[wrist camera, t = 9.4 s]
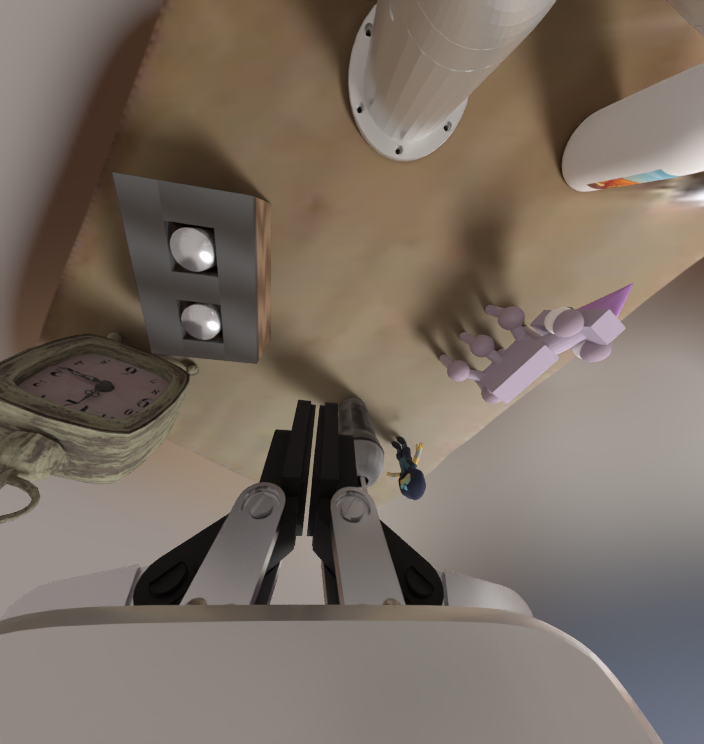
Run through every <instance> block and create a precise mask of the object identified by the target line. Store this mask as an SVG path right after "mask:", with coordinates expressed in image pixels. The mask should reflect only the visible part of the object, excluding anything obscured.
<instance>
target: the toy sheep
mask: <svg viewBox="0 0 704 744" xmlns="http://www.w3.org/2000/svg"><path fill="white" fill-rule="evenodd" d="M632 285H633V283H632V284H630V285H628V286H626V287H624V288H622V289H619V290H617V291H615V292H613V293H611V294H609V295H607V296H604V297H602V298H600V299H598V300H596V301H594V302H592V303H589V304H587V305H585V306H583V307H581V308H579V309H577V310H574V309H573V308H571V307H559V308H556V309H554V310H543V312H542V313H541V314H540V315H539V316H538V317H537V318H536V319H535V320H534V321H533V322H532V323H531V324H530V325H531V326H532V327H533V328H534V329H535V330H536V331H537V332H538V333H539V334H540V335H541V336H540V335H539V334H537V333H536V332H534V331H533V330H531V329H530V328H528V327H526V326H524V327H522V324H523V322H524V319H525V315H524V312H523V311H522V310H521V309H520V308H518V307H515V306H510V307H507V308H501V307H500V306H499V307H497V306H494V305H488V306H487V307H486V308H485V312H486V313H487V314H490V315H492V316H495V317H498V323H499V325H500V326H501V327H502V328H504V329H506V330H511V332H512V334H513V336H514V338H515V340H516V341H515V342H514V343H513V344H511V345H510V346H509V347H508V348H507V349H506V350H505V349H499V350H498V351H497V352H496V351H495V350H494V341H493V339H492V338H491V337H489V336H487V335H478V336H476V337H474V336H472V335H470V334H468V333H466V332H462V333H460V335H459V338H460V340H462V341H463V342H465V343H466V344H468V345H470V350H471V352H472V353H473V354H474V355H476V356H478V357H485V356H486V357H487V358H488V359H489V360H491V361H492V362H493V363H492V364H491V365H490V366H488V367H487V368H486V369H485V370H484V371H478V370H473V369H470V368H469V366H468V364H467V363H466V362H464V361H462V360H456V361H453V360H451V359H450V358H449V357H448V356H447V355H445V354H443V355H441V356H440V357H439V360H440V362H441V363H442V364H443V365H444V366H446V367H447V373H448V376H449V377H450V378H451V379H452V380H454V381H463V380H465V379H466V378H469V379H473V380H474V381H475V382H476V383H477V385H478V386H479V387H480V389H481V390H482V391H481V395H482V398H483V399H484V400H485V401H486V402H488V403H491V404H495V403H498V402H500V401H501V400H502V401H503V402H505V403H506V404H508V403H509V402H510V401H511V400H512V399H513V398H514V397H516V396H517V395H518V394H519V393H520V392H521V391H523V390H524V389H525V388H526V387H527V386H528V385H529V384H531V383H532V382H533V381H534V380H535V379H536V378H538V377H539V376H540V375H541V374H542V373H543V372H544V371H546V370H547V369H548V368H549V367H550V366H551V365H553V364H554V363H555V362H556V361H557V360H558V359H559V357H558V356H557V354H559V353H561V352H563V351H565V350H567V349H569V348H571V347H572V351H573V353H574V354H575V355H576V356H577V357H579V358H581V359H583V360H585V361H590V362H596V361H600V360H603V359H605V358H606V357H607V356H608V355H609V354H610V353H611V349H612V346H611V343H610V342H611V341H613V340H614V339H615V338H616V337H617V336H618V335H619V334H620V333H621V332H622V331H623V330H624V329H625V327H624V325H623V324H622V323H621V322H620V321H619V320H618V318H617V317H618V315H619V313H620V311H621V309H622V307H623V305H624V302H625V300H626V298H627V296H628V294H629V292H630V290H631V288H632Z"/></svg>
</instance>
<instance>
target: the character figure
mask: <svg viewBox="0 0 704 744" xmlns="http://www.w3.org/2000/svg"><path fill="white" fill-rule="evenodd" d="M397 441H398V442H399V443H400V444H402V449H401V446H400V444H398V443H397V442H393V443H392V446H393V447H394V448H396V449H397V454H396V457H397V459H398V460H399V464H400V467H401V473H390V472H387V473H388V474H387V476H389V477H391V478H399V487H400V490H401V493H402V494H403V495H404V496H406V497H408V498H409V499H413V500H417V499H419V498H421V497H422V495H423V494H424V491H425V488H426V483H425V479H424V475H423V473H422V472H421V471H420V470H418V469H416V467H417V463H418V460H419V458H420V455H421V451H422V449H423V443H422V444H421V443H419V447H418V445H417V444H416V453H415V456H414V459H413V461H412V457H411V452H410V448H409V447H407V445H406V441H405V440H404V439H403V438H401V437H398V438H397Z"/></svg>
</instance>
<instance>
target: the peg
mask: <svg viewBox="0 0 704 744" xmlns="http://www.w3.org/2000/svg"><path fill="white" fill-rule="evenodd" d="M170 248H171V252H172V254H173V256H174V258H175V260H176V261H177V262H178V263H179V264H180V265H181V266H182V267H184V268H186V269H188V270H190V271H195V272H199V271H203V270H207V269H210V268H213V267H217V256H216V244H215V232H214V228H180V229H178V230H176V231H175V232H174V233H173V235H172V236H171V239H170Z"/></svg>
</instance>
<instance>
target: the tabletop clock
mask: <svg viewBox="0 0 704 744" xmlns="http://www.w3.org/2000/svg"><path fill="white" fill-rule="evenodd" d="M121 341H122V337H121V335H120V334H118V333H114V332H113V333H110V334H108V335H107V338H106V337H102V336H97V335H92V334H83V335H75V336H70V337H66V338H62V339H58V340H55V341H52V342H48V343H45V344H42V345H39V346H36V347H33V348H30V349H27V350H25V351H23V352H21V353H19V354H16V355H14V356H12V357H10V358H8V359H5V360H3V361H1V362H0V489H1V488H2V487H3V486H5V485H6V484H9V485H12V486H16V487H18V488H20V489H22V490H23V491H25V492H27V493H28V494H29V496H30V497H31V499H32V501H31V503H30V504H29V505H28V506H27V507H25V508H24V509H22V510H20V511H17V512H14V513H11V514H7V515H2V516H0V524H2V523H5V522H9V521H12V520H15V519H17V518H19V517H21V516H23V515H25V514H27V513H28V512H30V511H31V510H33V509H34V508H35V507H36V505H37V504H38V502H39V499H40V494H39V491H38V488H37V487H36V486H34V485H33V484H32V483H30V482H29V481H37V480H41V479H44V478H47V477H49V476H51V475H54V476H58V477H63V478H67V479H72V480H76V481H81V482H86V483H91V484H110V483H113V482H115V481H117V480H119V479H120V478H122V477H124V476H126V475H127V474H129V473H131V472H132V471H133V470H135V469H136V468H137V467H138V466H140V465H141V464H142V463H143V462H144V461H145V460H146V459H147V458H148V457H149V456H150V455H151V454H152V453H153V452H154V451H155V450H156V449H157V448H158V447H159V446H160V445H161V443H162V442H163V440H164V439H165V437H166V436H167V434H168V433H169V431H170V430H171V428H172V427H173V425H174V422H175V420H176V417H177V414H178V412H179V409H180V406H181V403H182V400H183V397H184V394H185V392H186V389H187V386H188V383H189V377H190V375H191V376H194V375H196V374H198V371H199V369H198V367H197V366H195V365H190V366H188V367H187V371H185V370H183V369H182V368H180V367H178V366H177V365H174V364H172V363H170V362H168V361H166V360H164V359H161V358H159V357H157V356H155V355H153V354H150V353H148V352H146V351H143V350H140V349H138V348H135V347H132V346H130V345H127V344H124V343H121Z"/></svg>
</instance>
